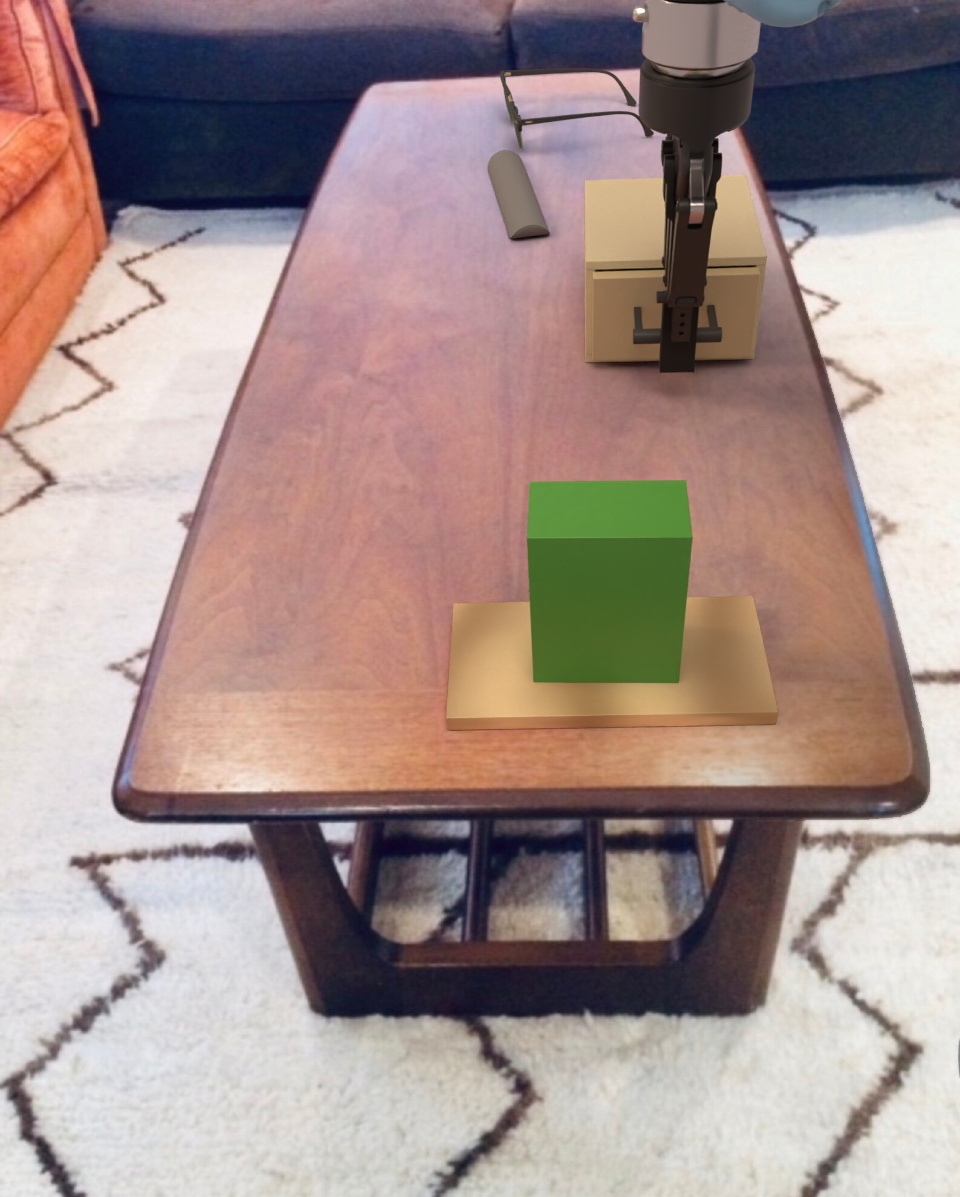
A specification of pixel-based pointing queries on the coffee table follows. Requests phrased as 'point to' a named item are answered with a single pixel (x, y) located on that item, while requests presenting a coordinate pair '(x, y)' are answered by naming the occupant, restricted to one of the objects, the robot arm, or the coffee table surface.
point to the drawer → (634, 315)
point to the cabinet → (636, 234)
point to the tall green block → (608, 579)
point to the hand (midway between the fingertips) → (676, 367)
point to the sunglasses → (520, 122)
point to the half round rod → (516, 195)
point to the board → (702, 697)
